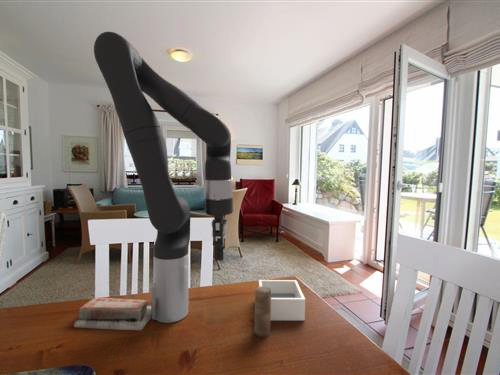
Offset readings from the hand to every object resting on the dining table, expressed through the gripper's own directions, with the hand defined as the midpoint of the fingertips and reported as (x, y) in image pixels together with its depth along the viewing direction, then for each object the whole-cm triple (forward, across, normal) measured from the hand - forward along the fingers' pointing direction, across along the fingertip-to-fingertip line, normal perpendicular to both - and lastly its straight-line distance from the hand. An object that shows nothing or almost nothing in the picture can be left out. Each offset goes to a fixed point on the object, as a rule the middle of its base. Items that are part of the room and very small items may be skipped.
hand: (220, 254), depth 72 cm
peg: (+18, +8, +11) cm, 22 cm away
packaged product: (+17, +1, -28) cm, 33 cm away
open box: (+18, -3, +17) cm, 25 cm away
